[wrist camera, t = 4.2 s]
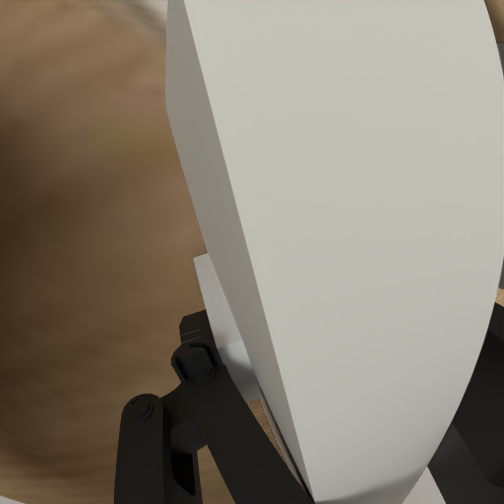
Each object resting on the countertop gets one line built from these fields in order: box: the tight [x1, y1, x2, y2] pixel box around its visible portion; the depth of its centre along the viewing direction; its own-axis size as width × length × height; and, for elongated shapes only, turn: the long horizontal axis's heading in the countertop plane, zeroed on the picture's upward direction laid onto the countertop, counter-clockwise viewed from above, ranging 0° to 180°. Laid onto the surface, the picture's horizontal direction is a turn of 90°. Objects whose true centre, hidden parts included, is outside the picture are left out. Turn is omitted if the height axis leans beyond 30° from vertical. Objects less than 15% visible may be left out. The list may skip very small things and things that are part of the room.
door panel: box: [166, 0, 504, 504], centre depth 10 cm, size 3×16×12 cm, turn 14°
